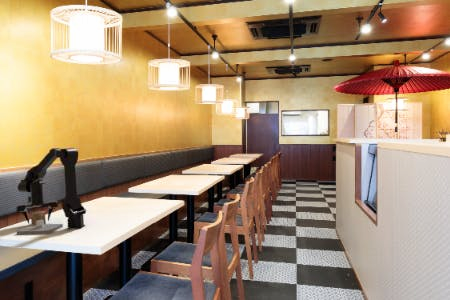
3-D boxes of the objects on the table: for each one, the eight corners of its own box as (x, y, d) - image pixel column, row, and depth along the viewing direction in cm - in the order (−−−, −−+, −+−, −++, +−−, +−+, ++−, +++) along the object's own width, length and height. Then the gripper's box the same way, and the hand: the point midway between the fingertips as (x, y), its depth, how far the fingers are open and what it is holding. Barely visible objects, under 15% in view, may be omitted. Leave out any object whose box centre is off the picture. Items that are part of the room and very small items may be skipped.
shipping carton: (45, 222, 183) (44, 210, 182) (45, 224, 177) (44, 212, 177) (32, 223, 180) (31, 212, 179) (31, 226, 174) (30, 214, 174)
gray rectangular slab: (62, 226, 172) (62, 223, 172) (49, 233, 160) (49, 230, 160) (31, 227, 172) (31, 224, 172) (16, 234, 160) (16, 231, 160)
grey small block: (44, 226, 167) (43, 219, 166) (42, 227, 165) (42, 220, 165) (38, 227, 167) (37, 220, 167) (36, 227, 165) (36, 220, 165)
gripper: (56, 188, 189) (57, 216, 190) (17, 192, 180) (19, 221, 181) (56, 191, 179) (58, 220, 180) (15, 195, 170) (17, 226, 171)
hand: (38, 222), depth 178 cm, fingers open, 9 cm apart
